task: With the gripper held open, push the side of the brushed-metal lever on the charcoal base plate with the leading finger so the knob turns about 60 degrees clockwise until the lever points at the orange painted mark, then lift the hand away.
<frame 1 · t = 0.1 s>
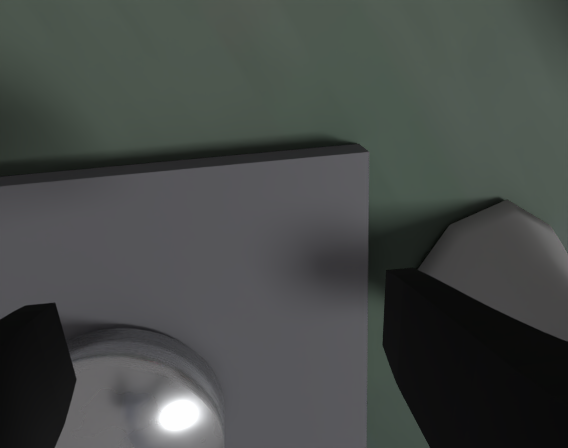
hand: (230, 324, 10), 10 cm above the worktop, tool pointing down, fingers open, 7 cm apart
base plate: (133, 382, 22), on the worktop
flask: (483, 268, 23), on the worktop
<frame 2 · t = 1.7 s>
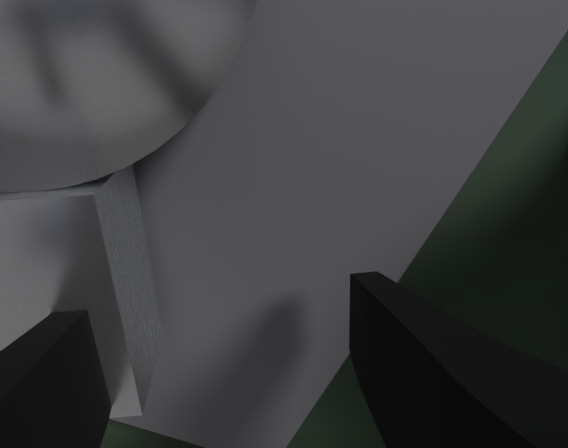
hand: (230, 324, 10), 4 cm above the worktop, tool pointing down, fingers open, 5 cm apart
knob: (28, 69, 8), point 3 cm above the worktop, hinge at -0.3°, touching gripper
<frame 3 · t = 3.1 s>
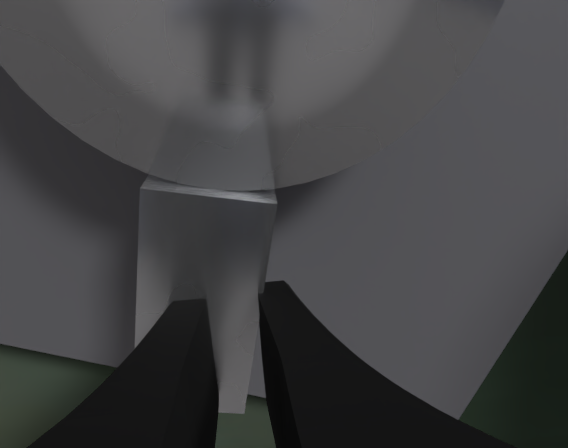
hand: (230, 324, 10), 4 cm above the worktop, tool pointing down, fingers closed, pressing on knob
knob: (224, 71, 8), point 3 cm above the worktop, hinge at -19.4°, touching gripper
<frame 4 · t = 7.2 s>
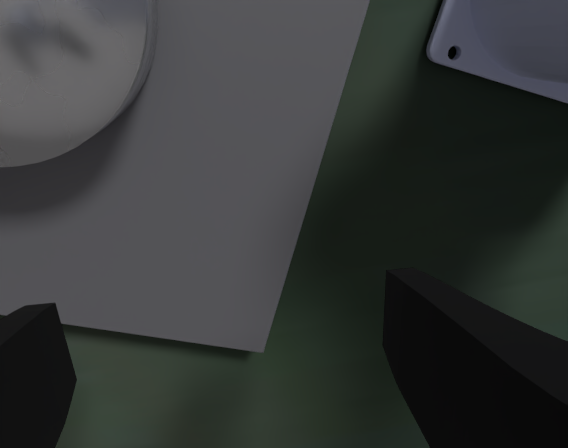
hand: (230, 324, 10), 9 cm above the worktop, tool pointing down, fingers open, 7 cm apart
base plate: (29, 5, 15), on the worktop
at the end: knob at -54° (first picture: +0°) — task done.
